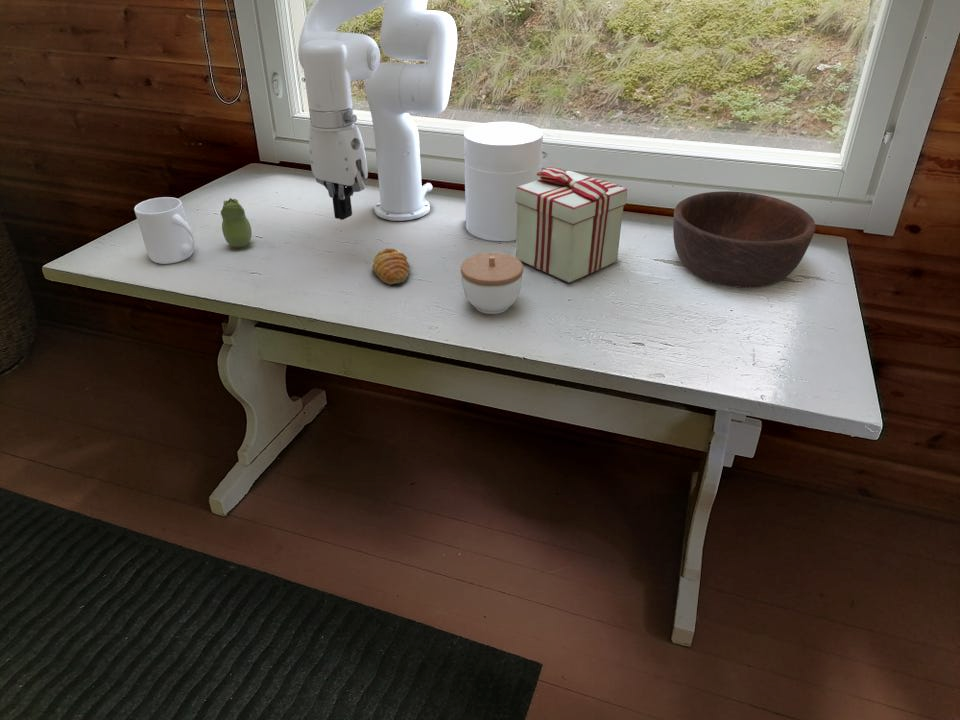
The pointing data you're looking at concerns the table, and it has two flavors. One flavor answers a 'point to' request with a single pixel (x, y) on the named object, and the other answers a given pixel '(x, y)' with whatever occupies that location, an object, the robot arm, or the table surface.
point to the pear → (235, 224)
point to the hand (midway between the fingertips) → (343, 216)
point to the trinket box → (492, 281)
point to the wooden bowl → (740, 237)
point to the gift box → (568, 223)
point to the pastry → (391, 266)
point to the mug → (165, 230)
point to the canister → (498, 175)
